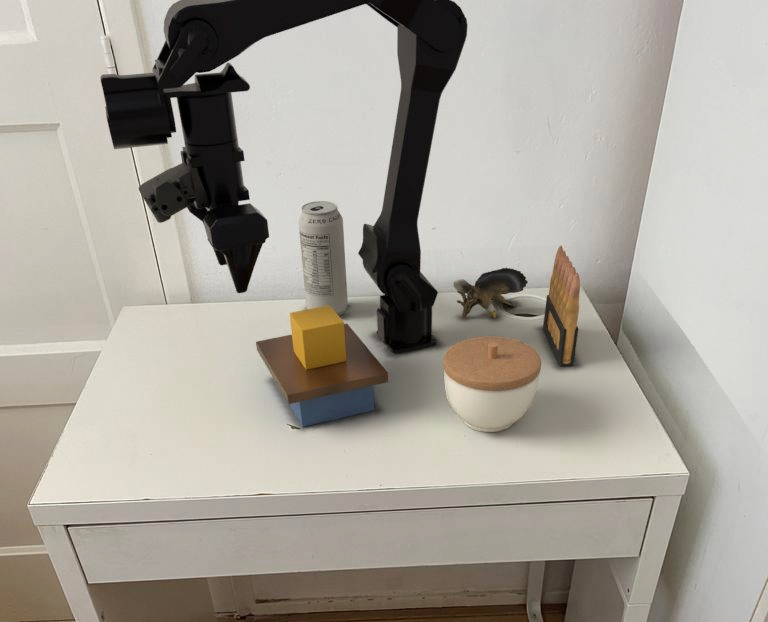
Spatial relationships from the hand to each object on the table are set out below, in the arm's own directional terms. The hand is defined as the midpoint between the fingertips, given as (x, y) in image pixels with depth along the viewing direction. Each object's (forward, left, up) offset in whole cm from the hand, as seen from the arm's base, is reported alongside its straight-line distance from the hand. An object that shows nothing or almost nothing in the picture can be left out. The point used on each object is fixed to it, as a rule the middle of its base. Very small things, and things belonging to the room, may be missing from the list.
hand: (232, 277), depth 94 cm
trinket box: (-23, +24, -12) cm, 35 cm away
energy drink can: (-15, -11, -12) cm, 22 cm away
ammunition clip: (-39, +12, -12) cm, 43 cm away
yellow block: (-7, +11, -7) cm, 15 cm away
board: (-7, +11, -8) cm, 15 cm away
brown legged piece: (-36, -1, -12) cm, 38 cm away
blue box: (-7, +11, -12) cm, 18 cm away
